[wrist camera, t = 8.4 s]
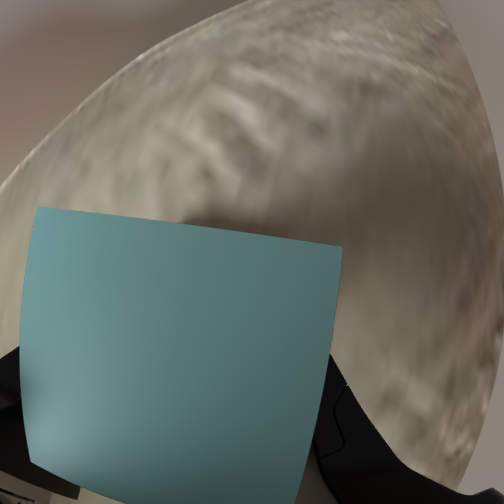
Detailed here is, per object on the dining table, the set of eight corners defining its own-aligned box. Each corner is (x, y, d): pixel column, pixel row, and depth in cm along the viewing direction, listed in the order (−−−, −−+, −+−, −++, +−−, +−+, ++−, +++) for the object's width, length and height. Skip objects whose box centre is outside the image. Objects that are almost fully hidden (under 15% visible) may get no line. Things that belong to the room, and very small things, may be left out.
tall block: (255, 366, 15) (286, 528, 3) (171, 353, 15) (30, 461, 3) (268, 282, 16) (342, 247, 4) (182, 270, 16) (38, 206, 4)
